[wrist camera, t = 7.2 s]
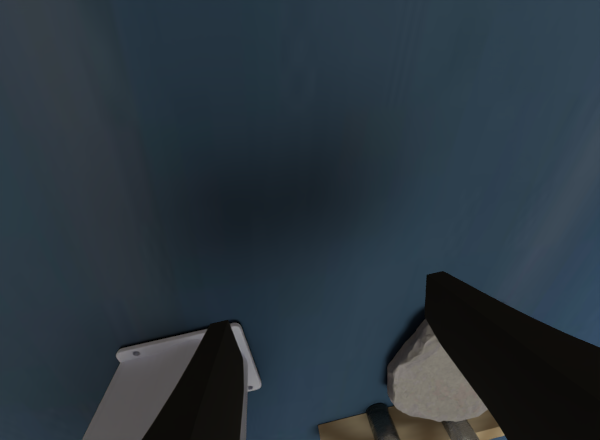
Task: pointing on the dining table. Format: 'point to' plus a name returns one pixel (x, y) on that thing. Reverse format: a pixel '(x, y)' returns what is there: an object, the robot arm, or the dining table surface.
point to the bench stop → (408, 427)
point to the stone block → (430, 381)
